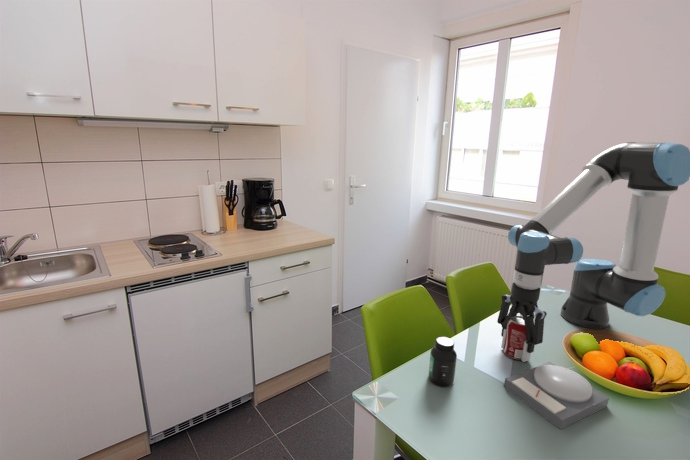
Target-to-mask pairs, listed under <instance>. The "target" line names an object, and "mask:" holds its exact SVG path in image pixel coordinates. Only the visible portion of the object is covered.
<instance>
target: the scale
mask: <svg viewBox="0 0 690 460" xmlns="http://www.w3.org/2000/svg"><path fill="white" fill-rule="evenodd" d="M503 382H504V383H503V387H504V388H505V389H507V390H508V391H509V392H511V393H512V394H513V395H515V396H516V397H517V396H518V397H517V398H519V399H520V400H521V401H522V402H524V403H525V404H527V405H528V406H530V408H531V409H533V410H534V411H535V412H537V413H538V414H540V415H541V416H542V417H543V418H545V419H546V420H548V421H549V422H550V423H552V424H553V425H554V426H556V427H557V428H558V429H559V430H563V429H564V428H566V427H568V426H571V425H572V424H574V423H576V422H578V421H580V420H582V419H584V418H586V417H589V416H590V415H592V414H594V413H596V412H598V411H601V410H602V409H605V408H607V407H608V403H609V400H610V398H609V396H607V395H605V394H604V393H602V392H600V391H599V390H597V389H595V388H594V387H592V385H591V383H590V382H589V381H588V380H587V379H586V378H585V377H584V376H582V375H581V374H579V373H577V372H575V371H574V370H572V369H570V368H567V367H564V366H560V365H556V364H554V363H552V362H551V361H548V362H545V363H543V364H540V365H538V366H534V367H532V368H529V369H527V370H524V371H521V372H518V373H515V374H512V375H509V376H507V377H505V378H504V381H503Z"/></svg>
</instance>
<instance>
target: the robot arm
mask: <svg viewBox="0 0 690 460" xmlns="http://www.w3.org/2000/svg"><path fill="white" fill-rule="evenodd" d="M581 169H582V170H581V173H580V174H579V175H578V176H577V177H575V178H574V179H573V180H572V181H571V182H570V183H569V184H567V186H566V187H565V188H564V189H563V190H562V191H560V192H559V193H558V194H557V195H556V196H555V197H554V198H553V199H551V200H550V202H548V203H547V204H546V205H545V206H544V207H543V208H542V209H541V210H540V211H538V212H537V213H536V214H535V215H534V216H533V217H532V218H531V219H530V220H529V221H528V222H527V223H526V224H516V225H514V226H512V227H511V228H510V230H509V231H508V235H507V239H508V242H509V244H510V245H512V246H514V247H515V248H516V254H515V255H516V256H515V263H514V270H513V276H512V284H511V289H510V294H509V293H507V294H504V295H501V305H500V309H499V313H498V317H497V320H496V321H497V323H498V324H499V325H501V337H502V341H501V349H504V342H505V336H506V329H507V323H508V321H509V320H510V319H511V317H515V316H518V314H519V315H520V316H522V317H523V320H524V322H525V329H526V335H527V341H525V342H524V348H523V353H522V359H521V361H522V362H523V363H524V362H527V361H531V356H532V355H531V354H532V353H534V352H535V346H537V345H539V344H542V343H543V342H544V341H543V340H544V328H545V327H544V326H545V319H546V317H547V311H542V310H541V309H539V307H538V301H539V299H540V295H541V290H542V289H541V287H542V283H543V277H544V271H545V266H552V265H562V264H563V265H564V264H565V265H568V264H573V263H575V267H574V269H573V274H572V280H571V287H570V291H569V296H568V297H567V298H566V300H565V302H564V303H563V305H562V307H561V309H560V315H561V316H562V318H564V319H565V320H566V321H567V322H570V323H572V324H574V325H576V326H580V327H583V328H587V329H595V330H597V329H598V330H601V329H606V328H608V326H609V324H610V315H609V314H610V313H609V310H608V309H609V308H608V304H609V305H611V306H613V307H616V308H618V309H620V310H622V311H624V312H625V313H628V314H630V315H634V316H636V317H645V316H649V315H651V314H652V313H654V312H656V310H658V309H659V307H660V306H661V305H662V303H663V302H664V300H665V297H666V290H665V288H664V286H663V285H661V284H658V282H659V274H658V273H657V272H656V271H655V265H656V260H657V256H658V252H659V248H660V247H659V245H660V242H661V241H660V240H661V238H662V237H661V236H662V233H663V232H662V231H663V227H664V222H665V218H666V212H667V207H668V204H669V203H668V202H669V198H670V195H673V194H674V193H676V192H677V191H678V190H679V186H682V185H685V184H686V183H687V182H689V180H690V149H689V147H688V146H686V145H684V144H681V143H674V142H673V143H672V142H666V141H665V142H635V141H634V142H633V141H631V142H630V141H629V142H623V143H619V144H616V145H613V146H612V147H610V148H608V149H606V150H604V151H602V152H601V153H599V154H597V155H596V156H595V157H593V158H592V159H591V160H589V161H588V162H587V163H586V164H585V165H584V166H583V167H582V168H581ZM619 180H625V181H626V180H627V181H628V182H627V185H626V186H627V187H626V188H627V189H628V190H629V191H630V192H631V198H630V199H631V200H630V205H629V210H628V214H627V222H626V227H625V232H624V238H623V243H622V249H621V254H620V260H619V264H618V265H616V264H617V263H615V262H613V261H609V260H605V259H597V258H582V257H583V256H584V255H583V254H584V248H583V247H584V246H583V245H582V243H581V242H580V241H579V240H578V239H577V238H574V237H567V236H566V237H565V236H564V237H559V236H556V235H553V233H554V232H555V231H556V230H557V229H558V228H560V227H561V225H563V223H565V222H567V220H568V219H569V218H570V217H571V216H573V215H574V214H575V212H577V211H578V210H579V209H580V208H582V206H583V205H585V203H587V202H588V201H589V200H590V199H591V198H592V197H593V196H595V194H597V192H599V191H600V190H601V189H603V188H607V187H609V186H610V185H612V183H613V182H616V181H619ZM581 258H582V259H581ZM510 306H511V307H510Z"/></svg>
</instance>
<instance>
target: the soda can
mask: <svg viewBox="0 0 690 460" xmlns="http://www.w3.org/2000/svg"><path fill="white" fill-rule="evenodd" d="M525 341H527V335H526V329H525V322H524V320H523V317H522V315H517V316H515V317H511V319H510V320H509V321H508V323H507V329H506V336H505V342H504V349H503V348H502V349H503V353H504V354H505V355H506V356H507V357H509V358H510V359H513V360H516V359H517V360H518V361H520V360H521V359H522V353H523V348H524V342H525Z"/></svg>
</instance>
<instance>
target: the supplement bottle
mask: <svg viewBox="0 0 690 460" xmlns="http://www.w3.org/2000/svg"><path fill="white" fill-rule="evenodd" d="M457 355H458V354H457V352H456V351H455V341H454V340H453V339H452V338H450V337H448V336H438V337H436V338H435V342H434V346H432V348H431V350H430V355H429V365H428V366H429V367H428V380H429V381H430V382H431V383H432V384H433V385H434V386H436V387H439V388H449V387H451V386H452V385H453V384H454V381H455V375H456V365H457V360H458V359H457V357H458V356H457Z"/></svg>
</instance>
